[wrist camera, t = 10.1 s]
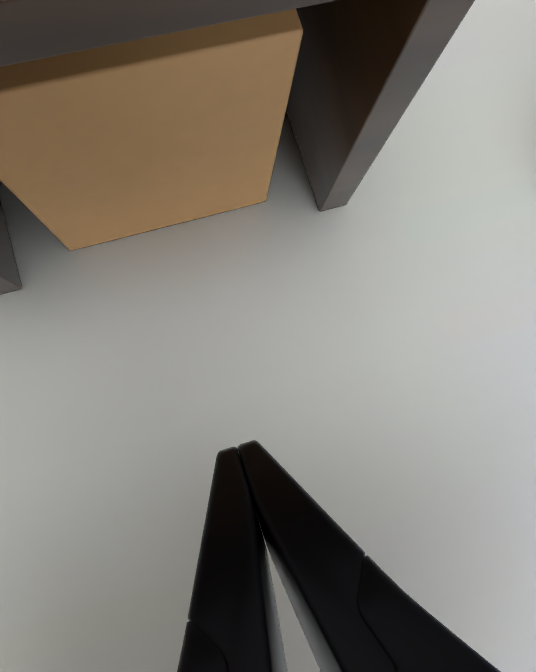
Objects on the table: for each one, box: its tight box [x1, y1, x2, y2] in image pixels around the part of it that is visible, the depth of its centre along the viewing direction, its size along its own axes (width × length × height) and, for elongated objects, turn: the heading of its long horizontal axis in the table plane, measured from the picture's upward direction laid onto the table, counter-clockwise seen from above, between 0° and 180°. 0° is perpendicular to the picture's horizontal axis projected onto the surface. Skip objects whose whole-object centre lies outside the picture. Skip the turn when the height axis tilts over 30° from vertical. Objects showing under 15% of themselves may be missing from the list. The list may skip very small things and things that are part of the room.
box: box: [0, 9, 303, 250], centre depth 15 cm, size 10×8×9 cm
